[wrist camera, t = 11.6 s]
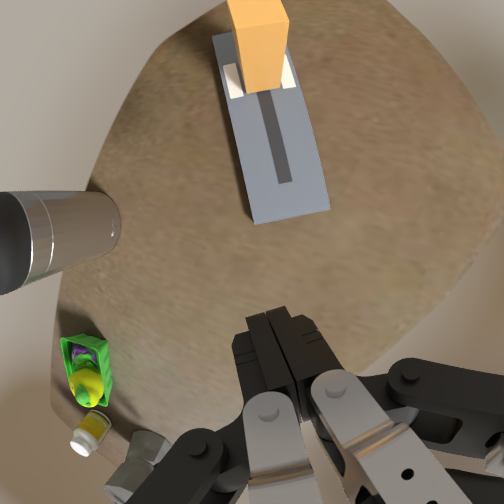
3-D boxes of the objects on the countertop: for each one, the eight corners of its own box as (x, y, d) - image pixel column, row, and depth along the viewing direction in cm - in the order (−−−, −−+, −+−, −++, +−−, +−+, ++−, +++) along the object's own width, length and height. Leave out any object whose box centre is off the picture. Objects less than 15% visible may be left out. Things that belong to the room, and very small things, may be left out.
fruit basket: (76, 324, 38) (34, 354, 27) (120, 337, 38) (83, 375, 27) (85, 378, 40) (53, 413, 29) (126, 393, 40) (98, 434, 29)
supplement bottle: (87, 405, 41) (63, 434, 32) (110, 414, 41) (88, 446, 32) (91, 422, 42) (71, 451, 33) (114, 431, 42) (95, 463, 33)
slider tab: (279, 87, 29) (289, 21, 15) (246, 93, 29) (235, 29, 15) (270, 55, 28) (272, -17, 14) (238, 60, 28) (224, -10, 15)
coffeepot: (153, 464, 44) (129, 526, 26) (118, 439, 43) (84, 499, 25) (199, 444, 41) (178, 521, 24) (158, 414, 40) (122, 491, 23)
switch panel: (326, 209, 34) (330, 209, 31) (255, 223, 34) (254, 225, 32) (278, 31, 29) (278, 23, 27) (213, 43, 30) (211, 35, 28)
